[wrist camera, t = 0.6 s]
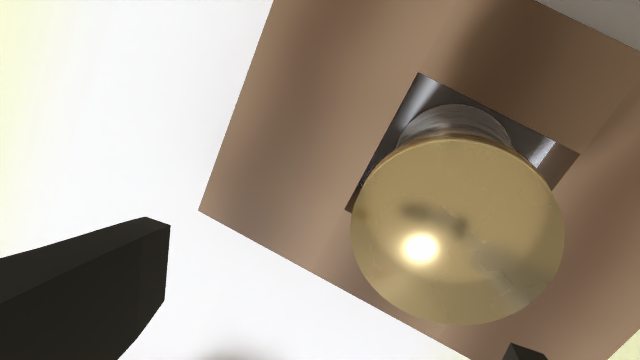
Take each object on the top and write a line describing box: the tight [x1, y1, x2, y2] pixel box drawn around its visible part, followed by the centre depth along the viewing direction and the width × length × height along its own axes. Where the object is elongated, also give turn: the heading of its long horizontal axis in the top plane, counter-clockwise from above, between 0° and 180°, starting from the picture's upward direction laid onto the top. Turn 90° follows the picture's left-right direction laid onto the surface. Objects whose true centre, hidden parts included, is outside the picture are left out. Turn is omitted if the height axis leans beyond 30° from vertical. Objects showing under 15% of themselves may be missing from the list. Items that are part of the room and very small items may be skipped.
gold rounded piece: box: [350, 104, 565, 325], centre depth 15 cm, size 5×5×6 cm
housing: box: [198, 0, 640, 360], centre depth 17 cm, size 16×12×2 cm
